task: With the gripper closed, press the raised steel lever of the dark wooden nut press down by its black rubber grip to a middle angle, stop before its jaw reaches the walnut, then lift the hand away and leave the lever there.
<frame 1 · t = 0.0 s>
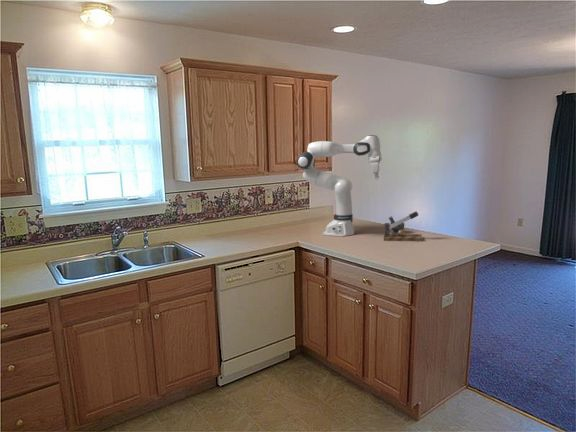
hand: (377, 178, 283), 39 cm above the worktop, tool pointing down, fingers open, 8 cm apart
mortar and pestle: (396, 233, 291), on the worktop
lever: (403, 220, 269), point 12 cm above the worktop, hinge at 28.0°
walnut: (401, 238, 272), resting on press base
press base: (402, 238, 272), on the worktop
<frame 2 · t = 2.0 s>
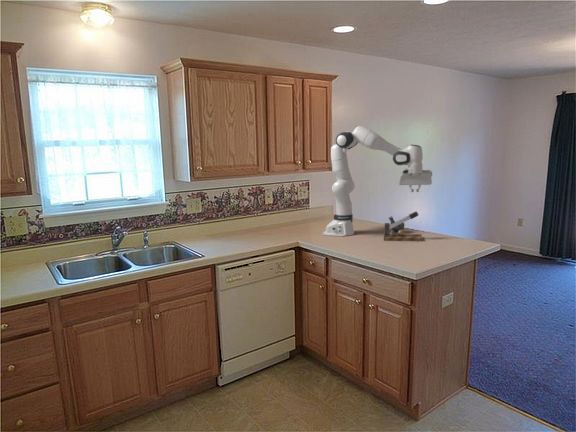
hand: (414, 191, 265), 31 cm above the worktop, tool pointing down, fingers closed
nothing on the worktop moved.
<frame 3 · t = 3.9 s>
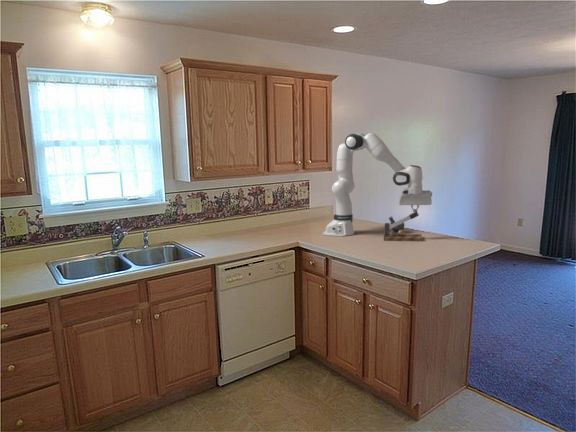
hand: (415, 211, 267), 18 cm above the worktop, tool pointing down, fingers closed
lever: (403, 220, 269), point 12 cm above the worktop, hinge at 27.5°, touching gripper
everything else where it was.
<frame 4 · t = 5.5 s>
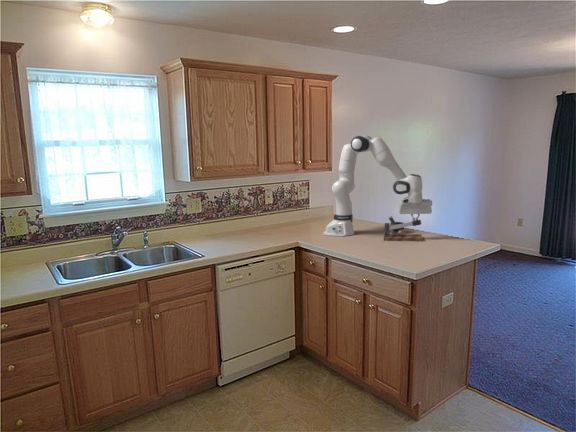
hand: (415, 220, 267), 12 cm above the worktop, tool pointing down, fingers closed
lever: (404, 225, 270), point 9 cm above the worktop, hinge at 11.8°, touching gripper
everything else where it was.
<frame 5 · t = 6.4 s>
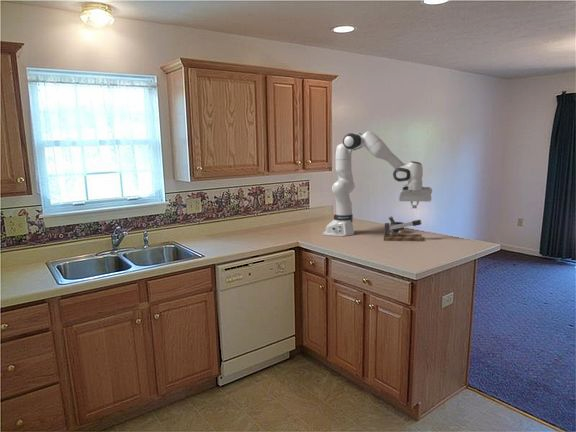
hand: (414, 208, 266), 20 cm above the worktop, tool pointing down, fingers closed
lever: (404, 225, 270), point 9 cm above the worktop, hinge at 11.8°
everything else where it was.
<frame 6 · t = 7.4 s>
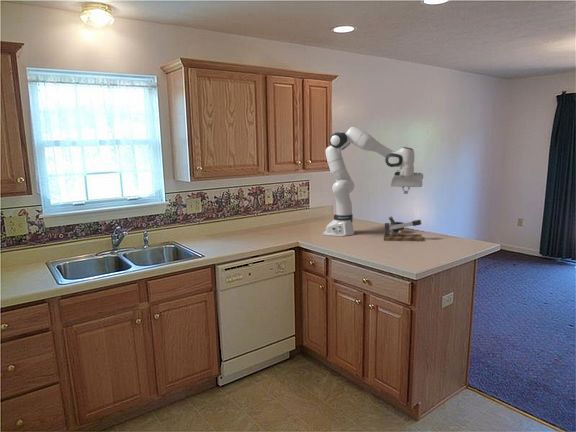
hand: (405, 193, 270), 30 cm above the worktop, tool pointing down, fingers closed
nothing on the worktop moved.
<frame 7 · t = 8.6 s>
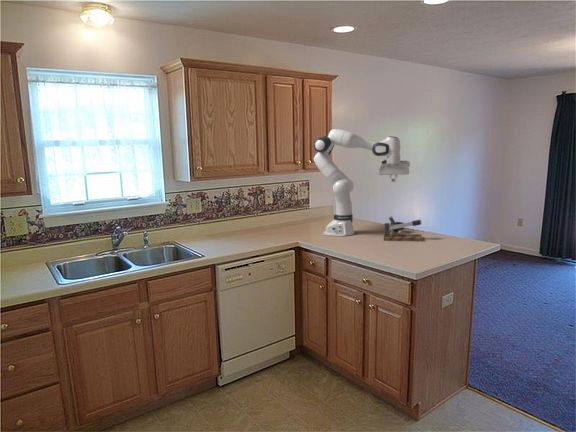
hand: (393, 181, 276), 37 cm above the worktop, tool pointing down, fingers closed
nothing on the worktop moved.
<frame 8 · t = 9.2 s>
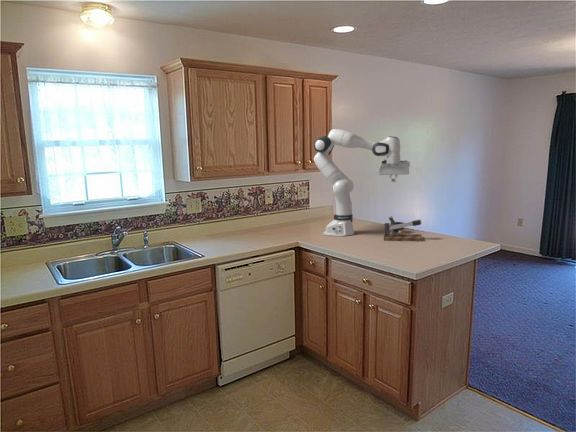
hand: (393, 181, 276), 37 cm above the worktop, tool pointing down, fingers closed
nothing on the worktop moved.
at the end: lever at +12° (first picture: +28°); lever touching nothing; mortar and pestle moved 0.2 cm from its start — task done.
